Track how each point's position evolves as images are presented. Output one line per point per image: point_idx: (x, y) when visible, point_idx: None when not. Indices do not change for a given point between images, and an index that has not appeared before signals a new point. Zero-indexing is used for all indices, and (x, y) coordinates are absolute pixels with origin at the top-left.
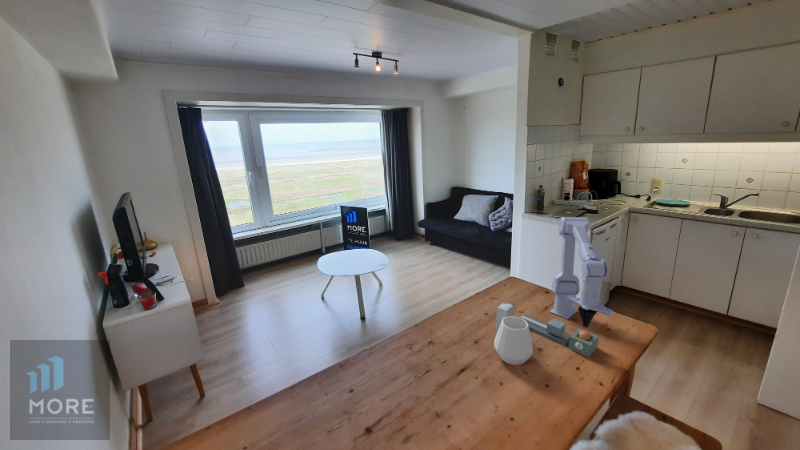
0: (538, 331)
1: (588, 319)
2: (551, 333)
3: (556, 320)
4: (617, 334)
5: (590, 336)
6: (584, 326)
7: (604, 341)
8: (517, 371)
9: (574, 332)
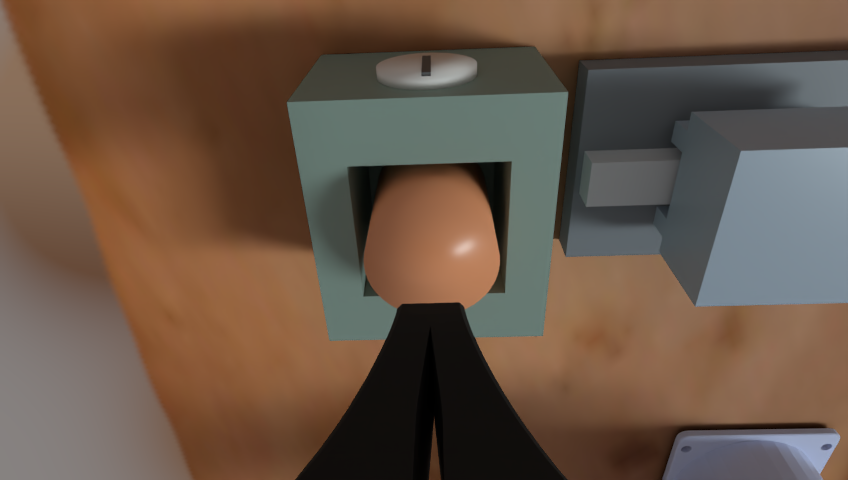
0: None
1: (351, 441)
2: None
3: (817, 292)
4: None
5: None
6: (435, 306)
7: (356, 361)
8: None
9: (552, 225)
